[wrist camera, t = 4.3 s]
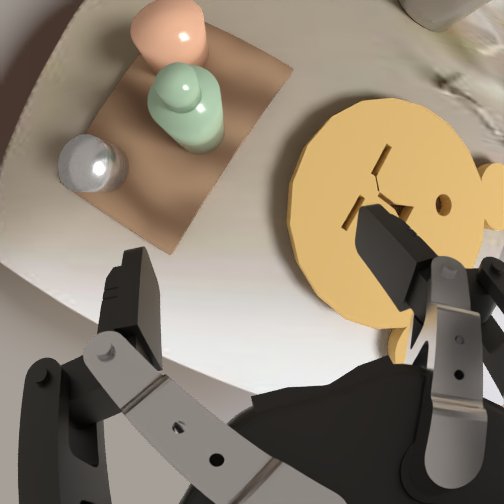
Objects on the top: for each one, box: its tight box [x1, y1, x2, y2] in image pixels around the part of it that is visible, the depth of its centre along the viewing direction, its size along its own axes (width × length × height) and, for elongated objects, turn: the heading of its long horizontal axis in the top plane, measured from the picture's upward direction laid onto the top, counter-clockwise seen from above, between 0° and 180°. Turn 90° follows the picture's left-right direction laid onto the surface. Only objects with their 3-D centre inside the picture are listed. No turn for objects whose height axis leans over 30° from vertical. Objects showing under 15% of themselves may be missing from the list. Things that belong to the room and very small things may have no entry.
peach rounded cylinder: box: [130, 0, 209, 76], centre depth 24 cm, size 6×6×7 cm
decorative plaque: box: [286, 98, 504, 364], centre depth 32 cm, size 31×3×30 cm
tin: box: [58, 134, 129, 193], centre depth 26 cm, size 5×5×6 cm
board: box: [60, 22, 293, 255], centre depth 29 cm, size 23×15×2 cm, turn 147°
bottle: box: [148, 62, 225, 155], centre depth 22 cm, size 5×5×14 cm
